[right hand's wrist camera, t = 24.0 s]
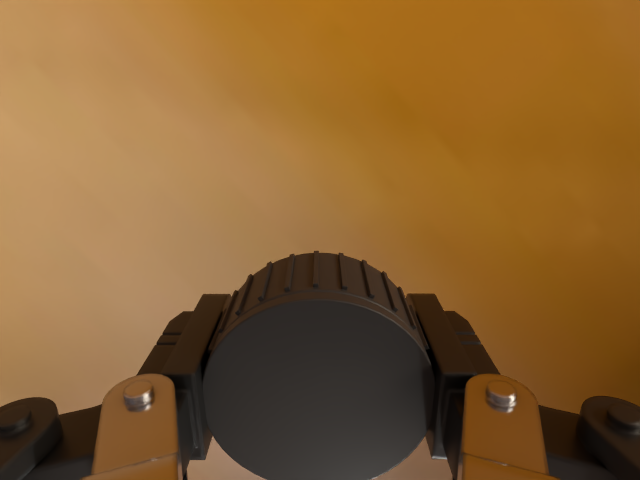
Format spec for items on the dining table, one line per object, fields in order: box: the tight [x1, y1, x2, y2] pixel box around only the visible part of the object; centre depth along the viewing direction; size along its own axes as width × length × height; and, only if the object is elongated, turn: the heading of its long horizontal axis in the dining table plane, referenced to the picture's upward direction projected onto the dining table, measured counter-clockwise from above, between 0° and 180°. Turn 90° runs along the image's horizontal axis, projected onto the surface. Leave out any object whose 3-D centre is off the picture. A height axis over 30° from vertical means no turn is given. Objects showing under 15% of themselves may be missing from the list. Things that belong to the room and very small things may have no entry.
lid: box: [202, 251, 435, 480], centre depth 10 cm, size 5×5×2 cm
